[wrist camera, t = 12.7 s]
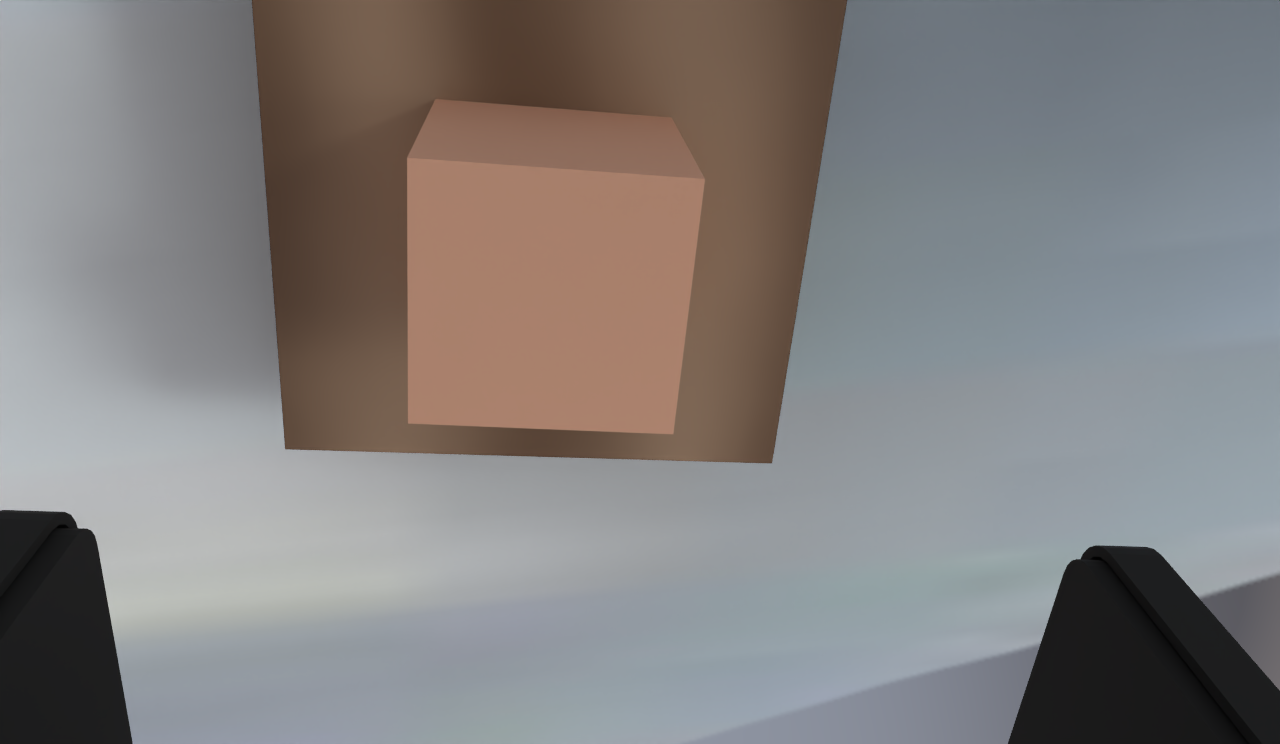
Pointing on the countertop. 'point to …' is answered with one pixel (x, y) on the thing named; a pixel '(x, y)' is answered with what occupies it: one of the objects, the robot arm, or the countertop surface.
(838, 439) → the countertop surface
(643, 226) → the terracotta cube
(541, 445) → the walnut base
